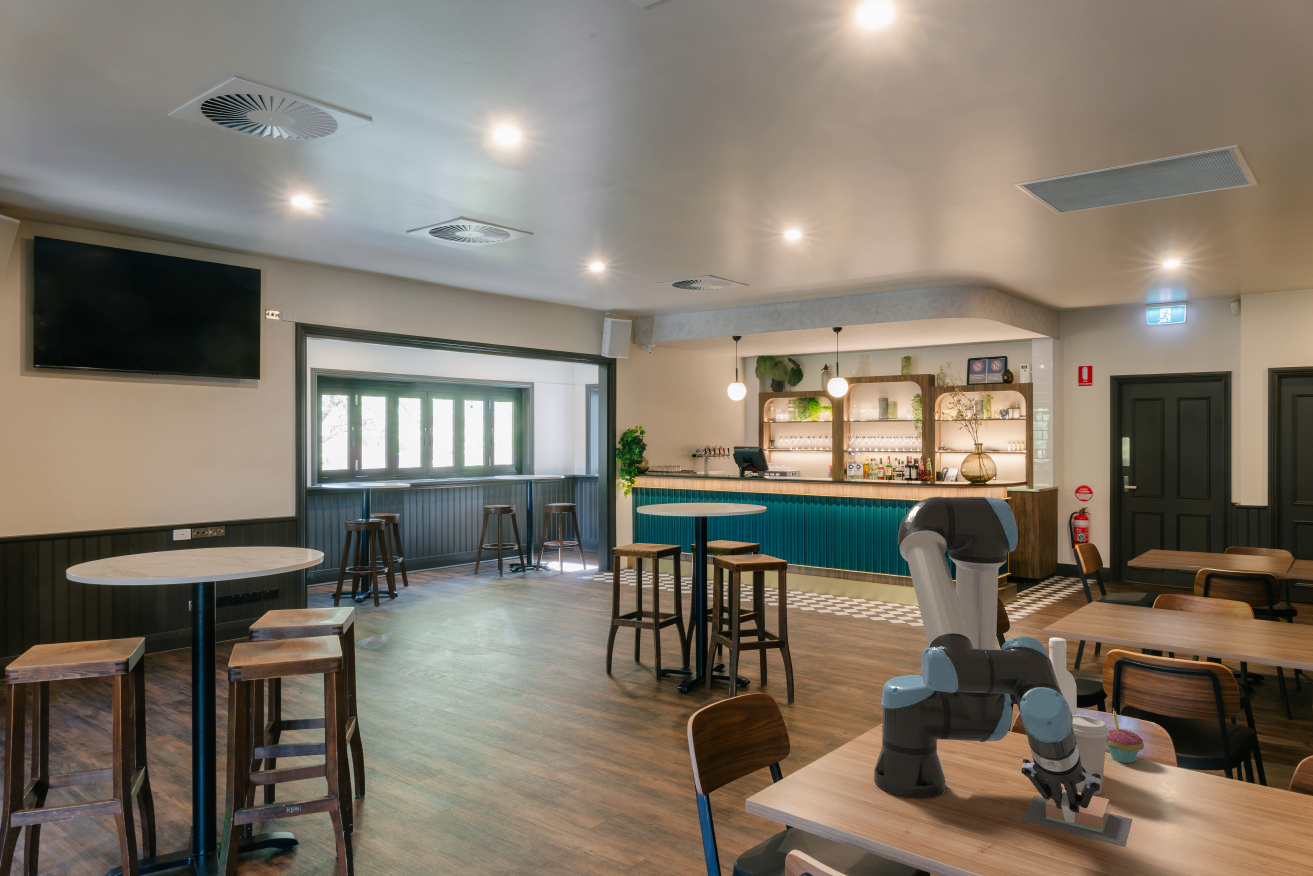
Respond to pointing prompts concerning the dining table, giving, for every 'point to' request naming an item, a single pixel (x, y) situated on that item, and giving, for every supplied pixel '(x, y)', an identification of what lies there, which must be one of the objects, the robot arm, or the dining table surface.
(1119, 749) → the cupcake
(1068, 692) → the bottle
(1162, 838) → the dining table surface
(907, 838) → the dining table surface
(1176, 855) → the dining table surface
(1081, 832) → the mat
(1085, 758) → the coffee cup
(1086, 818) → the tile
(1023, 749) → the dining table surface
